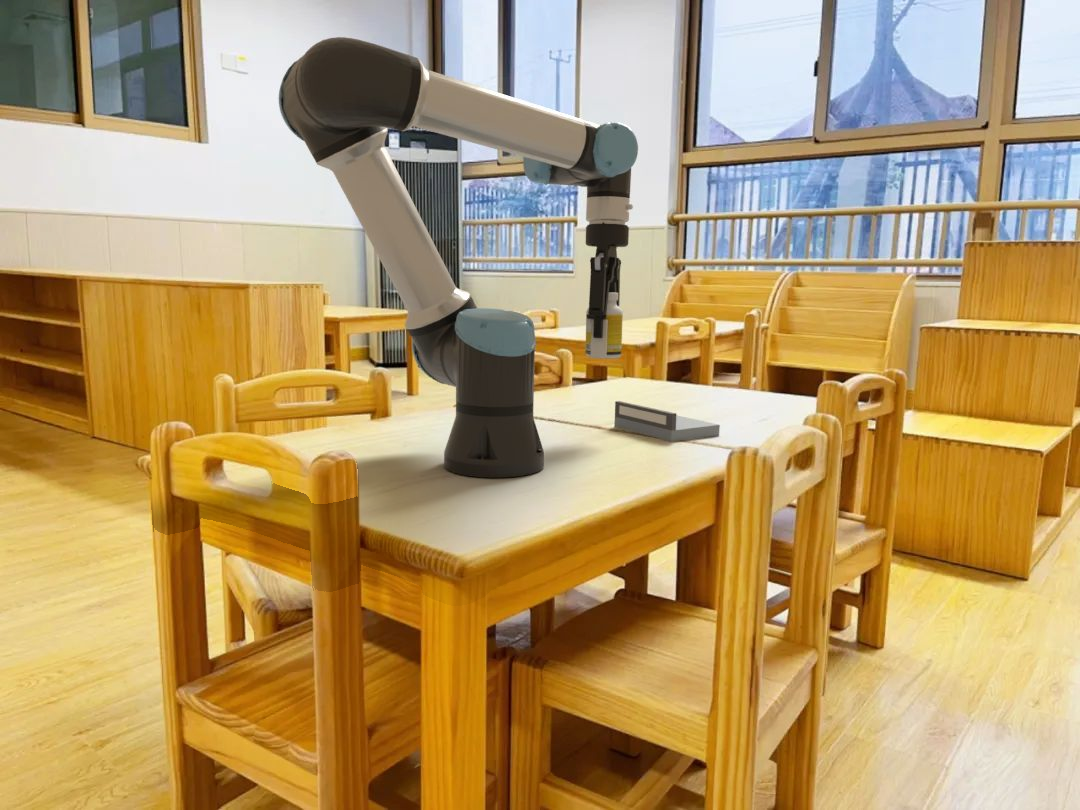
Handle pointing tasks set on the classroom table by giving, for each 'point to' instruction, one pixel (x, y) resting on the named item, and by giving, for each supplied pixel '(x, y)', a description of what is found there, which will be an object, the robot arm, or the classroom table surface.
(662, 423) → the grey piece
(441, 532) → the classroom table surface
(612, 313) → the pill bottle
